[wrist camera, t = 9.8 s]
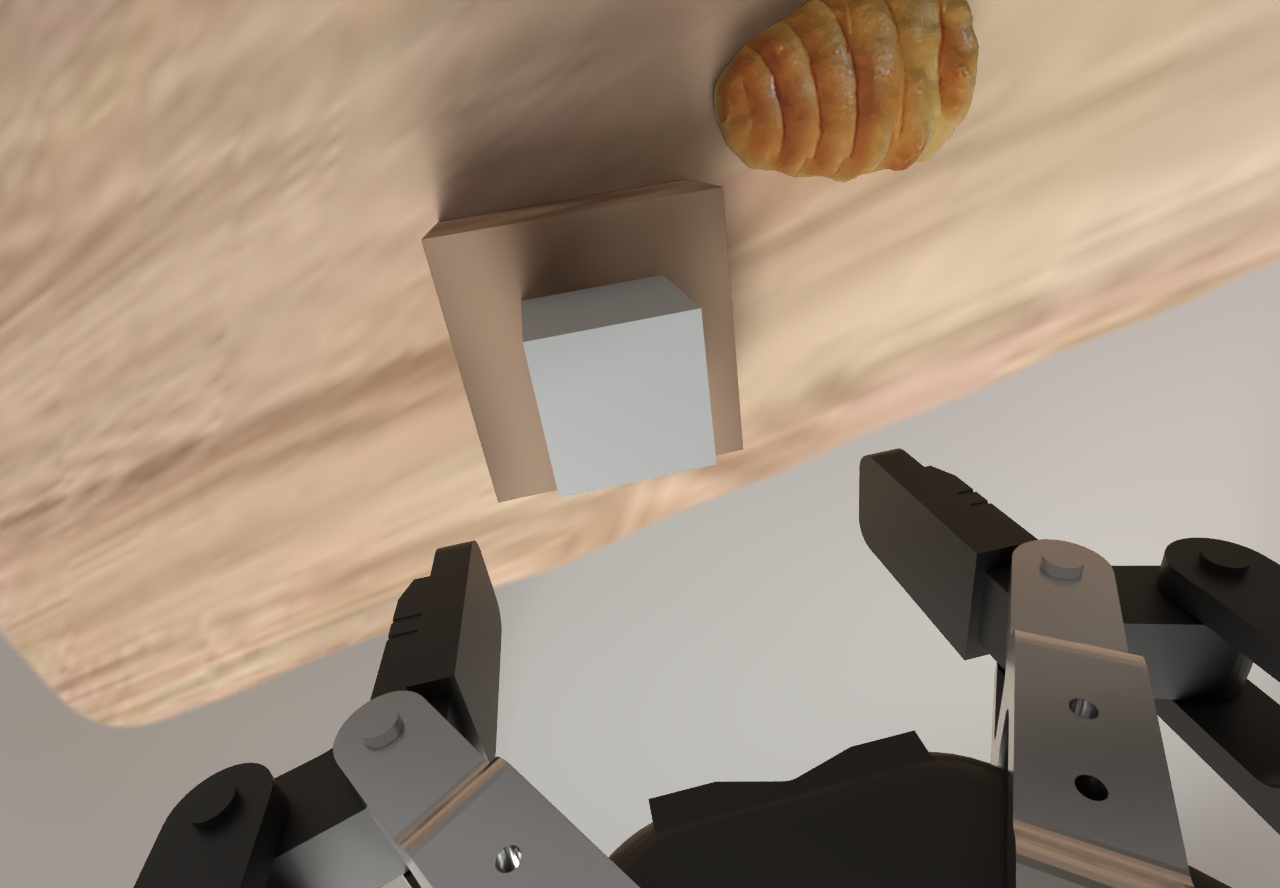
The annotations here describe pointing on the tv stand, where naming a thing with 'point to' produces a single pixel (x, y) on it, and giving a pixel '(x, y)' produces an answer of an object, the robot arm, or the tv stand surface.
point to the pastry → (850, 87)
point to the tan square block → (564, 262)
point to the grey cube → (619, 383)
